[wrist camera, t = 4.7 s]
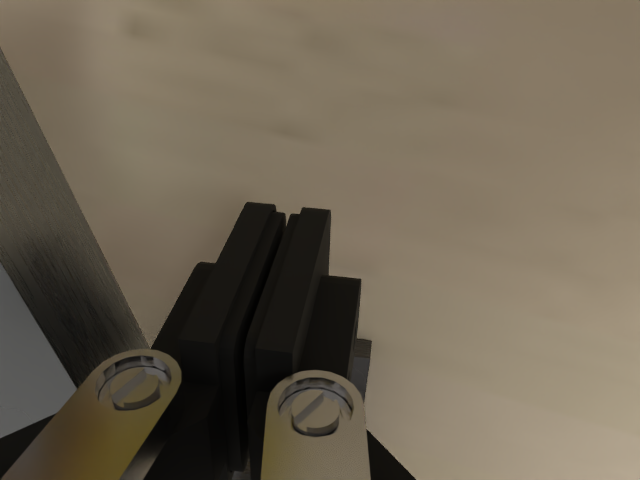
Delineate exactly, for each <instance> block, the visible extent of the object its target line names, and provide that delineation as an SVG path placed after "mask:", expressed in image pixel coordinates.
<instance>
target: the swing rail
mask: <svg viewBox="0 0 640 480" xmlns="http://www.w3.org/2000/svg"><path fill="white" fill-rule="evenodd" d="M136 349H150V348H149V346H148V344H147V342H146V340H145V338H144V336H143V334H142V332H141V330H140V328H139V326H138V324H137V322H136V320H135V318H134V316H133V314H132V312H131V310H130V307H129V305H128V303H127V301H126V299H125V297H124V295H123V293H122V291H121V289H120V287H119V285H118V283H117V281H116V279H115V277H114V275H113V273H112V271H111V269H110V267H109V265H108V263H107V261H106V259H105V257H104V255H103V253H102V251H101V249H100V247H99V245H98V243H97V241H96V239H95V237H94V235H93V233H92V231H91V229H90V227H89V225H88V223H87V221H86V219H85V217H84V215H83V213H82V211H81V209H80V207H79V205H78V203H77V201H76V199H75V197H74V195H73V193H72V191H71V189H70V187H69V185H68V183H67V181H66V179H65V177H64V175H63V173H62V171H61V169H60V167H59V165H58V163H57V161H56V159H55V157H54V154H53V152H52V150H51V148H50V146H49V144H48V142H47V140H46V138H45V136H44V134H43V132H42V130H41V128H40V126H39V124H38V122H37V120H36V118H35V116H34V114H33V112H32V110H31V108H30V106H29V104H28V102H27V100H26V98H25V96H24V94H23V92H22V90H21V88H20V86H19V84H18V82H17V80H16V78H15V76H14V74H13V72H12V70H11V68H10V66H9V64H8V62H7V60H6V58H5V56H4V54H3V52H2V50H1V48H0V438H2V437H4V436H6V435H9V434H11V433H13V432H15V431H18V430H20V429H22V428H24V427H26V426H29V425H31V424H33V423H35V422H38V421H40V420H42V419H44V418H46V417H49V416H51V415H53V414H55V413H57V412H58V411H59V410H60V409H61V408H62V406H63V405H64V404H65V403H66V402H67V401H68V399H69V398H70V397H71V396H72V395H73V394H74V392H75V391H76V390H77V389H78V388H79V387H80V385H81V384H82V383H83V382H84V381H85V379H86V378H87V377H88V376H89V375H90V374H91V372H92V371H93V370H94V369H95V368H97V367H98V366H99V365H100V364H101V363H102V362H103V361H105V360H107V359H109V358H111V357H112V356H114V355H116V354H119V353H122V352H126V351H129V350H136Z"/></svg>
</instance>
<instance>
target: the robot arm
mask: <svg viewBox="0 0 640 480" xmlns="http://www.w3.org/2000/svg"><path fill="white" fill-rule="evenodd" d="M330 227H331V211H330V210H326V209H316V208H305V207H303V208H302V210H301V213H300V214H291V215H290V218H289V220H288V223H287V226H286V216H285V213H281V212H276V206H275V205H274V204H263V203H253V202H247V203H246V204H245V206H244V208H243V210H242V212H241V214H240V216H239V218H238V220H237V222H236V224H235V226H234V228H233V230H232V232H231V234H230V236H229V238H228V240H227V242H226V244H225V246H224V248H223V250H222V252H221V254H220V256H219V258H218V260H217V262H216V263H207V262H200V263H198V264H197V265H196V267H195V268H194V270H193V272H192V274H191V275H190V277H189V279H188V281H187V283H186V285H185V286H184V288H183V290H182V292H181V294H180V296H179V297H178V299H177V301H176V303H175V305H174V307H173V309H172V310H171V312H170V314H169V316H168V318H167V320H166V321H165V323H164V325H163V327H162V329H161V331H160V332H159V334H158V336H157V338H156V340H155V342H154V343H153V345H152V347H151V349H136V350H129V351H126V352H122V353H119V354H116V355H114V356H112V357H111V358H109V359H107V360H105V361H103V362H102V363H101V364H100V365H99V366H98V367H97V368H95V369H94V370H93V371H92V372H91V374H90V375H89V376H88V377H87V378H86V379H85V381H84V382H83V383H82V384H81V385H80V387H79V388H78V389H77V390H76V391H75V392H74V394H73V395H72V396H71V397H70V398H69V399H68V401H67V402H66V403H65V404H64V405H63V406H62V408H61V409H60V410H59V411H58V412H57V413H55V414H53V415H51V416H49V417H46V418H44V419H42V420H40V421H38V422H35V423H33V424H31V425H29V426H26V427H24V428H22V429H20V430H18V431H15V432H13V433H11V434H9V435H6V436H4V437H2V438H0V480H232V478H233V474H234V471H237V472H244V471H245V469H246V466H247V463H248V459H249V458H250V474H251V480H416V479H415V478H414V477H413V476H412V475H411V474H410V473H409V472H408V471H407V470H406V469H405V468H404V467H403V466H402V465H401V464H400V463H399V462H398V461H397V460H396V459H395V458H394V457H393V456H392V455H391V454H390V452H389V451H388V450H387V449H386V448H385V447H384V446H383V445H382V444H381V443H380V442H379V441H378V440H377V439H376V438H375V437H374V436H373V435H372V434H371V433H370V432H369V431H368V430H367V429H366V421H365V409H364V404H363V400H362V397H361V394H360V393H359V391H358V390H357V389H356V387H355V386H354V385H353V384H352V383H351V376H352V369H353V361H354V354H355V346H356V338H357V329H358V318H359V307H360V295H361V279H356V278H347V277H337V276H328V275H329V251H330Z"/></svg>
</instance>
